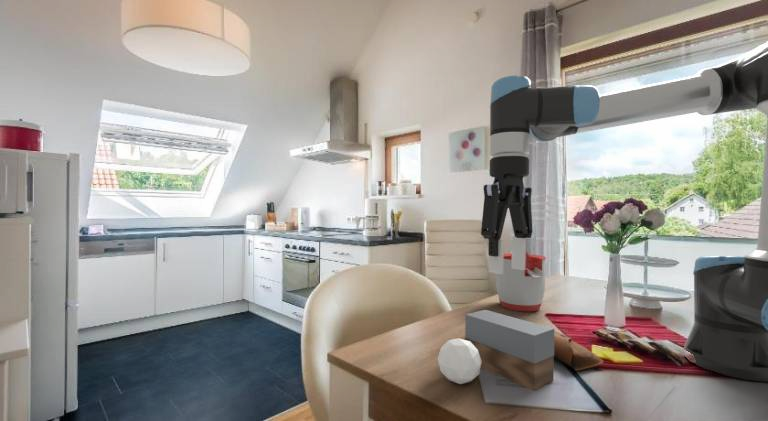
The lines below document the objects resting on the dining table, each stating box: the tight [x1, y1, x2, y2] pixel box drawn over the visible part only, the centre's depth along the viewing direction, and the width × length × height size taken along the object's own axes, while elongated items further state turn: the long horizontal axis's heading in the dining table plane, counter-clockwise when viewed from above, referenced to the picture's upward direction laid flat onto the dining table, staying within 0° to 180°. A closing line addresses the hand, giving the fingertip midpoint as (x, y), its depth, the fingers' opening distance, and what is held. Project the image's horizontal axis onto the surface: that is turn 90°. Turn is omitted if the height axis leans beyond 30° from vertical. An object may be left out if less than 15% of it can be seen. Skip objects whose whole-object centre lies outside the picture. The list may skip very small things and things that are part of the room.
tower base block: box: [463, 338, 555, 391], centre depth 73 cm, size 16×6×5 cm, turn 37°
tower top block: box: [464, 309, 555, 364], centre depth 73 cm, size 16×6×5 cm, turn 36°
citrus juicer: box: [495, 251, 547, 313], centre depth 118 cm, size 16×17×20 cm
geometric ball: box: [437, 337, 482, 385], centre depth 67 cm, size 8×8×8 cm
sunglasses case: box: [554, 330, 605, 372], centre depth 81 cm, size 18×7×7 cm
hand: (507, 270), depth 73 cm, fingers open, 7 cm apart
